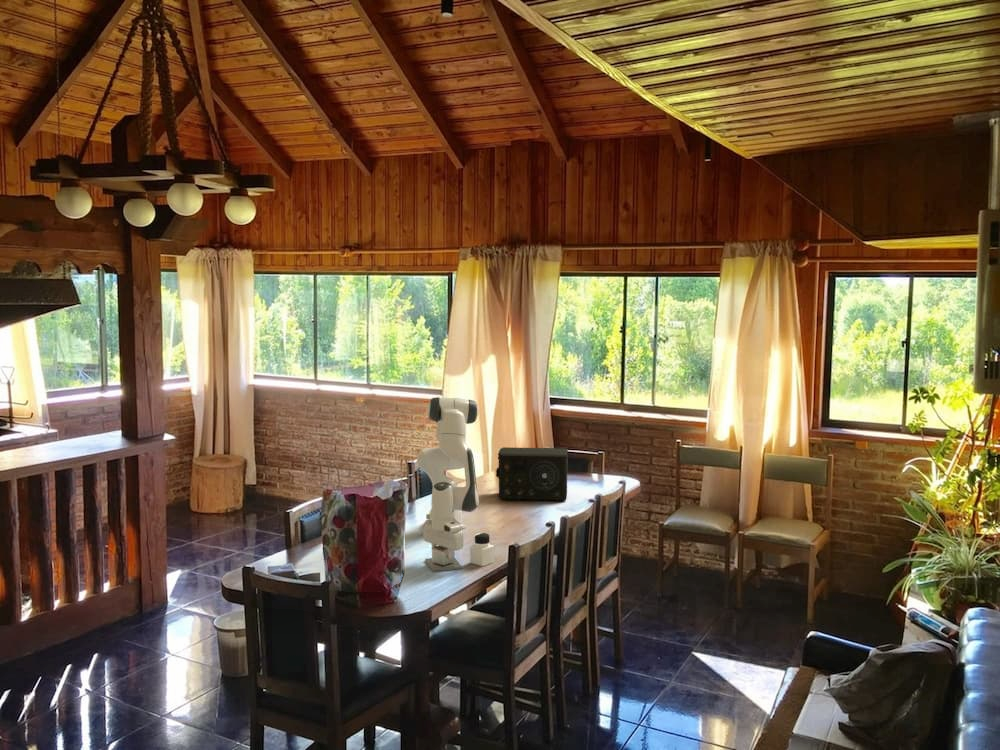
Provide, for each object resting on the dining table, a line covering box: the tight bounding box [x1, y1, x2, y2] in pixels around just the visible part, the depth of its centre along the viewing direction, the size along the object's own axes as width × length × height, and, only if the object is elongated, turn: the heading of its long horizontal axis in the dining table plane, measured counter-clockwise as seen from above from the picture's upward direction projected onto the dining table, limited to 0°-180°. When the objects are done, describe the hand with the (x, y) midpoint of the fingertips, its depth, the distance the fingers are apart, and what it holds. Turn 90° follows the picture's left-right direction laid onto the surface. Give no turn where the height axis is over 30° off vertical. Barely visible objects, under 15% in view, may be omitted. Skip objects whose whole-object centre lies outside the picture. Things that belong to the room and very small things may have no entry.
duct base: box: [424, 557, 463, 573], centre depth 354 cm, size 14×12×5 cm
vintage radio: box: [495, 447, 569, 502], centre depth 458 cm, size 38×20×25 cm, turn 84°
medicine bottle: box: [469, 532, 495, 567], centre depth 356 cm, size 7×7×12 cm
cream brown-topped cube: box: [431, 545, 455, 565], centre depth 354 cm, size 7×7×6 cm
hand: (443, 556), depth 354 cm, fingers closed on cream brown-topped cube, 6 cm apart
